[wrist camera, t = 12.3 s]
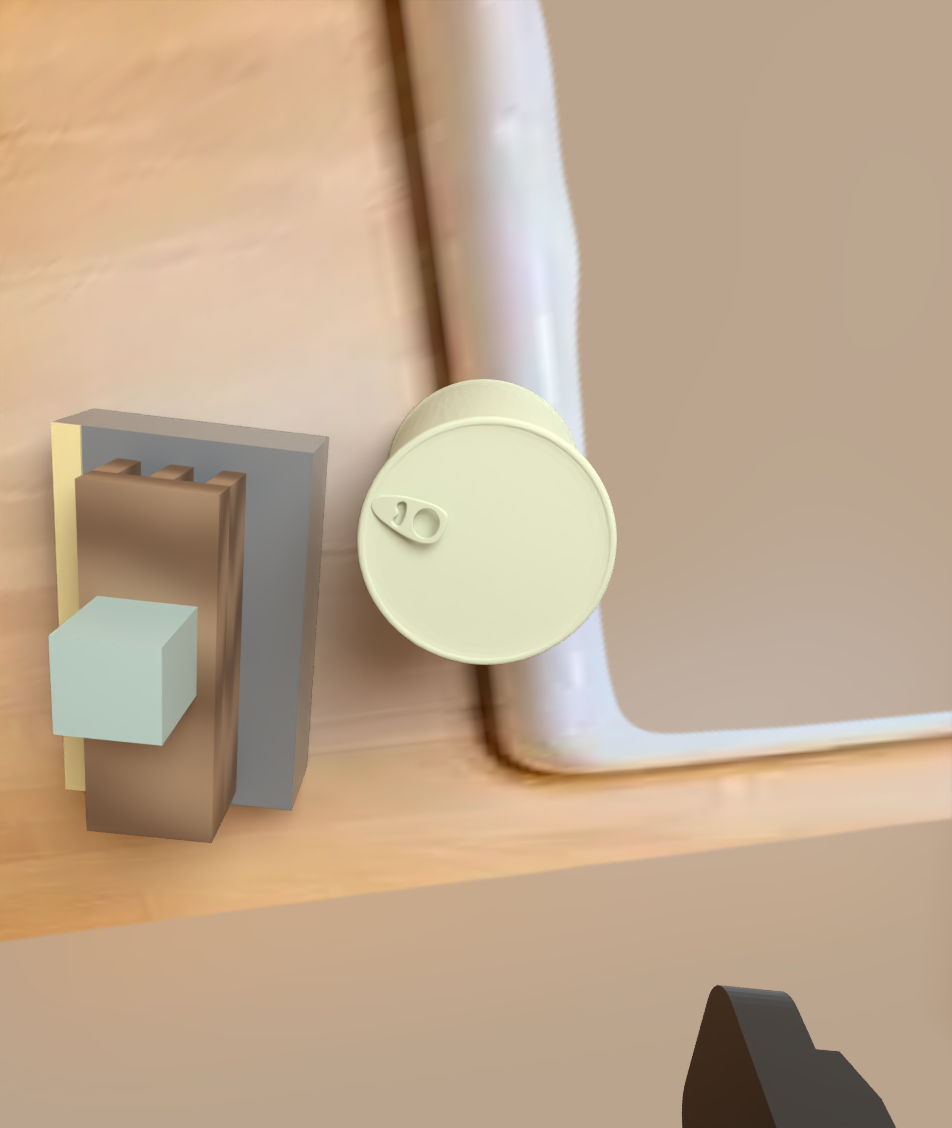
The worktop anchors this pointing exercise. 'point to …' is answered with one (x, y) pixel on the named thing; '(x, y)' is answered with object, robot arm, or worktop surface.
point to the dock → (270, 573)
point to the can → (486, 527)
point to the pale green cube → (123, 670)
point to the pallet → (215, 586)
